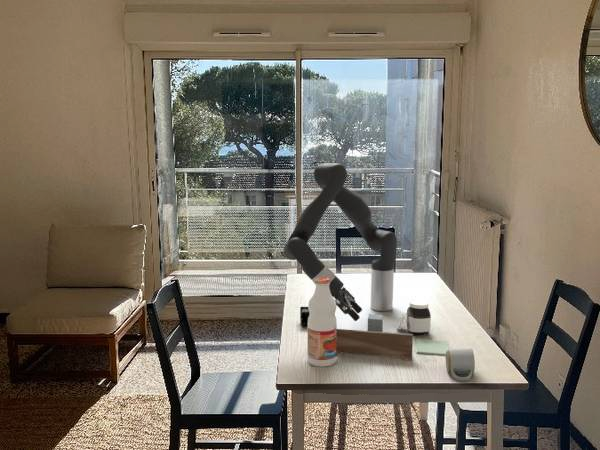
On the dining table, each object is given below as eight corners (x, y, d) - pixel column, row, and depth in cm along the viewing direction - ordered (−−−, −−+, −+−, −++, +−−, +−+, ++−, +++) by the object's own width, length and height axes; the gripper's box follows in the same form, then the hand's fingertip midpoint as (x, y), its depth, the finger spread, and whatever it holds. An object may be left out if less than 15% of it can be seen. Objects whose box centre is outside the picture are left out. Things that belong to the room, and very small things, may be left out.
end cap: (325, 321, 229) (326, 304, 228) (325, 327, 222) (326, 310, 221) (300, 321, 229) (300, 304, 228) (299, 327, 222) (299, 310, 221)
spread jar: (432, 336, 213) (434, 306, 211) (403, 338, 211) (404, 307, 209) (420, 325, 224) (422, 296, 222) (392, 327, 222) (393, 297, 220)
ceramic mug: (444, 366, 186) (445, 344, 185) (470, 367, 185) (471, 345, 184) (449, 381, 176) (450, 358, 174) (477, 382, 175) (478, 359, 173)
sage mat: (416, 340, 208) (416, 338, 208) (448, 342, 206) (448, 341, 206) (416, 353, 197) (416, 351, 197) (449, 355, 195) (450, 354, 195)
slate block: (368, 340, 208) (368, 314, 207) (382, 341, 207) (383, 314, 206) (367, 346, 203) (367, 318, 202) (381, 347, 202) (382, 319, 201)
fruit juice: (313, 354, 196) (313, 273, 191) (339, 358, 193) (341, 276, 188) (303, 364, 188) (303, 280, 183) (330, 369, 184) (331, 283, 179)
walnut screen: (335, 348, 201) (335, 326, 199) (412, 354, 196) (412, 332, 194) (333, 354, 196) (333, 331, 194) (411, 360, 191) (412, 337, 190)
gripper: (332, 280, 197) (365, 315, 197) (337, 270, 211) (368, 302, 211) (316, 294, 199) (349, 329, 199) (323, 283, 213) (353, 315, 213)
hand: (359, 315), depth 205 cm, fingers open, 8 cm apart
